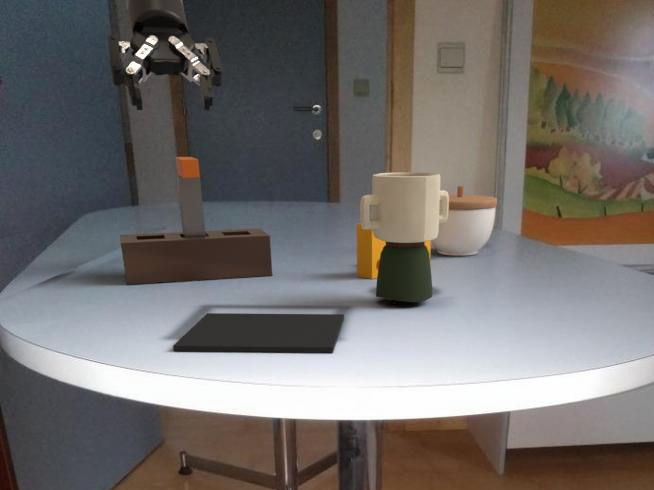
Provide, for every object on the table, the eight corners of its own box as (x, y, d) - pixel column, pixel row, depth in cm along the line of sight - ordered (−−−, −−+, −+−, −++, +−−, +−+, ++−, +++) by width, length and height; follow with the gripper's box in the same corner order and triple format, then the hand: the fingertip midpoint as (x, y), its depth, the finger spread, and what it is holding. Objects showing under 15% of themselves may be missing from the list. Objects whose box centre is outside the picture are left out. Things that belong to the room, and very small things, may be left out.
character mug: (425, 290, 85) (429, 170, 79) (463, 302, 79) (470, 173, 73) (345, 301, 80) (342, 174, 74) (379, 314, 74) (379, 178, 69)
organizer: (125, 274, 95) (119, 234, 93) (261, 266, 100) (259, 228, 98) (127, 285, 89) (120, 242, 87) (272, 275, 94) (270, 235, 91)
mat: (173, 351, 63) (172, 345, 63) (207, 318, 73) (207, 313, 73) (333, 352, 62) (332, 347, 62) (344, 319, 73) (344, 314, 73)
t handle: (185, 270, 97) (172, 157, 91) (204, 269, 98) (193, 156, 92) (191, 281, 91) (178, 159, 84) (212, 280, 91) (200, 159, 85)
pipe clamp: (405, 262, 102) (406, 214, 99) (430, 266, 99) (431, 216, 96) (347, 274, 94) (346, 222, 91) (371, 279, 91) (372, 225, 88)
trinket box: (508, 254, 108) (513, 186, 104) (452, 260, 103) (455, 190, 99) (462, 245, 116) (466, 182, 112) (408, 251, 111) (409, 185, 107)
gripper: (97, -18, 92) (113, 80, 88) (209, -13, 96) (230, 81, 92) (104, 35, 99) (119, 128, 95) (208, 38, 103) (227, 127, 99)
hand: (173, 105), depth 93 cm, fingers open, 8 cm apart
